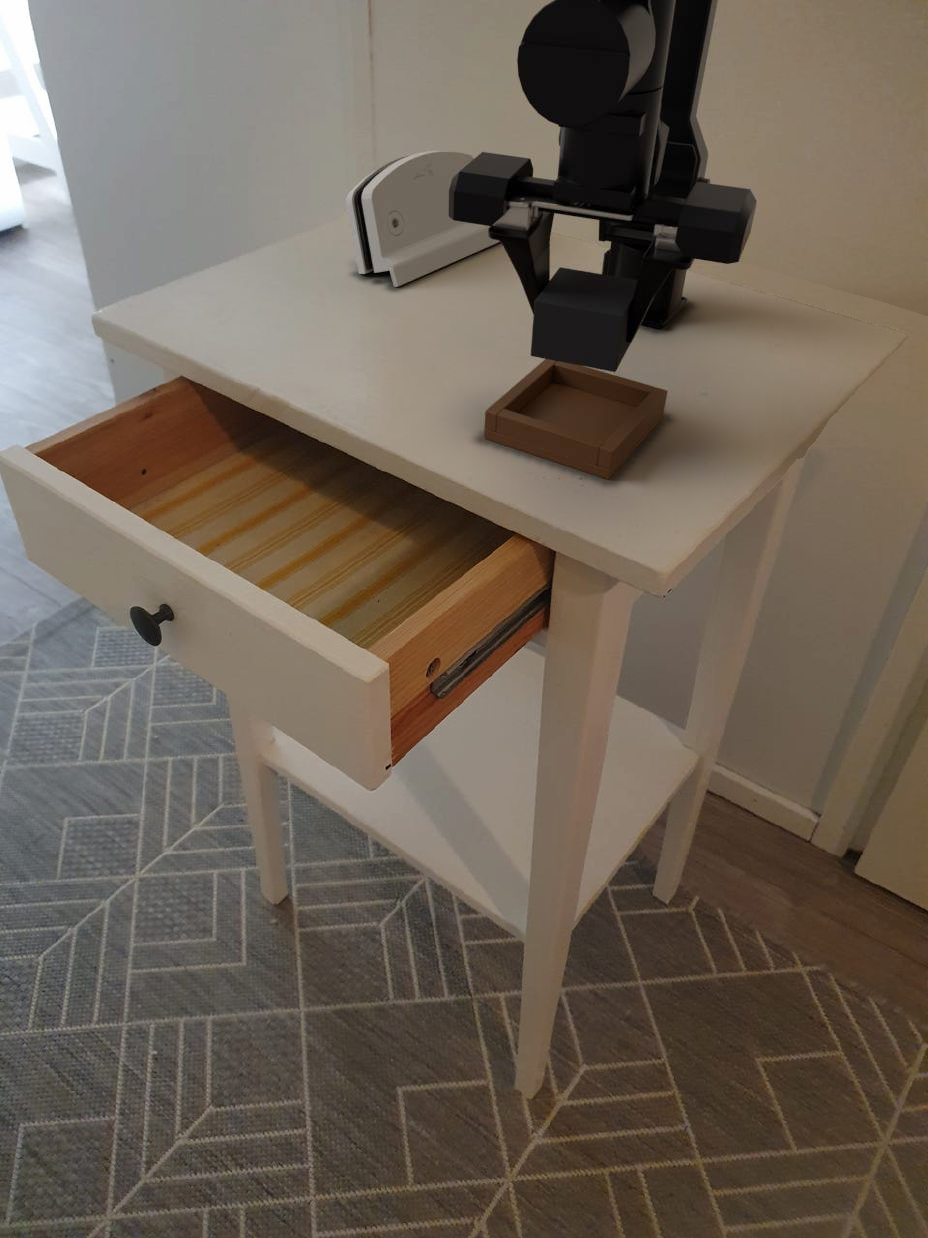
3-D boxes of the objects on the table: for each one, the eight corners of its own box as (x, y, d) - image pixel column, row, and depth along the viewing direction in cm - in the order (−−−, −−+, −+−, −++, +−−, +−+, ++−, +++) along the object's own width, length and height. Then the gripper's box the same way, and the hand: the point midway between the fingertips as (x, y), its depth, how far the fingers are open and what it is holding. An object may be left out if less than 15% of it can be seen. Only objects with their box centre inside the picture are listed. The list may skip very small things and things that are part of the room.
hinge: (395, 287, 90) (364, 172, 85) (361, 290, 93) (330, 179, 88) (507, 238, 99) (485, 132, 95) (473, 242, 102) (450, 139, 98)
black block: (635, 335, 69) (643, 280, 67) (615, 372, 65) (623, 315, 62) (554, 320, 71) (559, 266, 68) (530, 356, 66) (534, 300, 64)
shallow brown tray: (663, 417, 74) (668, 390, 72) (608, 479, 67) (612, 451, 66) (545, 382, 77) (548, 355, 76) (483, 438, 71) (484, 410, 69)
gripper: (792, 68, 60) (738, 308, 71) (506, 37, 65) (496, 267, 75) (769, 114, 52) (712, 377, 63) (446, 75, 57) (444, 326, 67)
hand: (585, 332), depth 67 cm, fingers closed on black block, 6 cm apart
